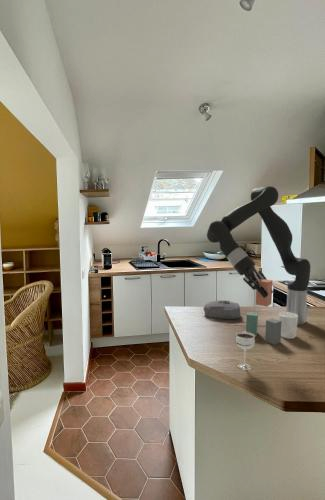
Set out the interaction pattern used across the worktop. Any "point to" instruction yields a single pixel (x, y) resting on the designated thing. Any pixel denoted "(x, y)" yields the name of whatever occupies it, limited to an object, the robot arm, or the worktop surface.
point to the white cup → (288, 324)
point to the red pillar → (268, 287)
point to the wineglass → (245, 345)
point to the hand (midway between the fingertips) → (268, 294)
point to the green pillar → (252, 322)
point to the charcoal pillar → (273, 331)
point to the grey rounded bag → (222, 310)
